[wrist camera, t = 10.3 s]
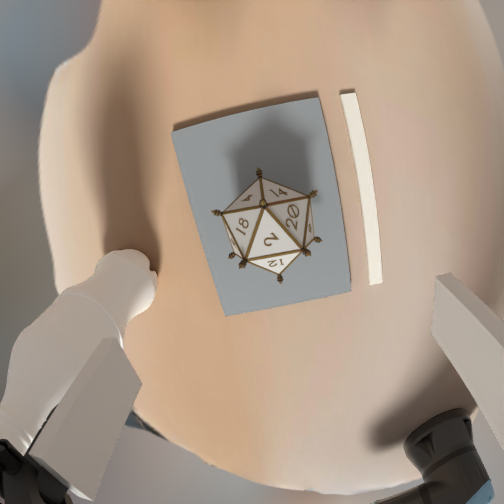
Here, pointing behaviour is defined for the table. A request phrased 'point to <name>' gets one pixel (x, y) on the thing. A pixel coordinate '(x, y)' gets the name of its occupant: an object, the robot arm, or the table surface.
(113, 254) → the water bottle
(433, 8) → the table surface
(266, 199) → the game die
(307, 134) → the mat
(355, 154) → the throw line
